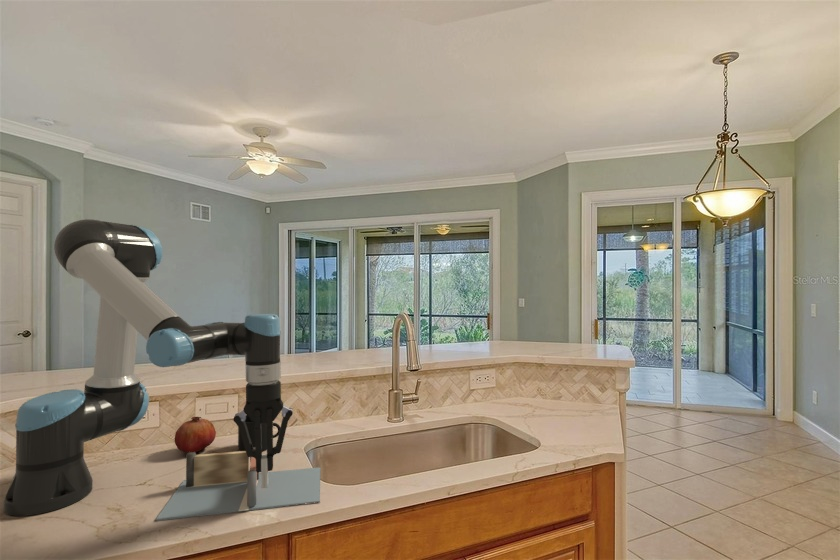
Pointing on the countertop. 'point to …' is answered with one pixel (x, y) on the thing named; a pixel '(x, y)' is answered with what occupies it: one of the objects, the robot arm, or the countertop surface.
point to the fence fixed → (216, 468)
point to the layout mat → (244, 495)
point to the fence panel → (251, 483)
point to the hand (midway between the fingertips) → (264, 485)
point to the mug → (251, 431)
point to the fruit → (195, 435)
